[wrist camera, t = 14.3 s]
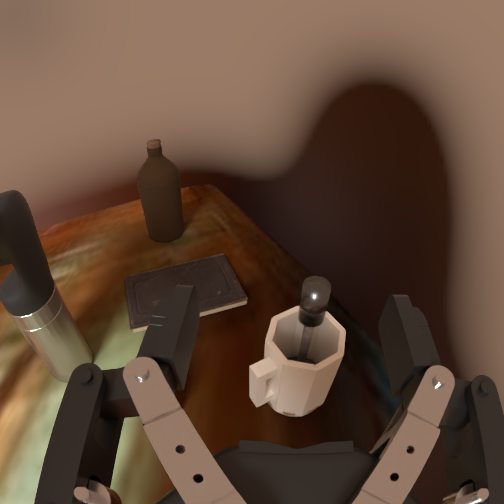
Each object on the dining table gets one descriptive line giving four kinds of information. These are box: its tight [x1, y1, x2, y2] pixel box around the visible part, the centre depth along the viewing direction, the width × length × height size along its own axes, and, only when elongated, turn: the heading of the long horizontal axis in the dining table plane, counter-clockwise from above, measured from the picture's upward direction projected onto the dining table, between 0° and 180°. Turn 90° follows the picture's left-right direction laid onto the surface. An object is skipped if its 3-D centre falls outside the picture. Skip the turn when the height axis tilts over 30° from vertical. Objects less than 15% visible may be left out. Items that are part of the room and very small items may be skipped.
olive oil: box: [137, 139, 184, 242], centre depth 74 cm, size 11×11×25 cm
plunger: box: [287, 276, 331, 365], centre depth 38 cm, size 7×7×19 cm
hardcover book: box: [124, 253, 248, 333], centre depth 64 cm, size 16×23×2 cm
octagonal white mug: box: [249, 306, 346, 417], centre depth 42 cm, size 10×12×14 cm
